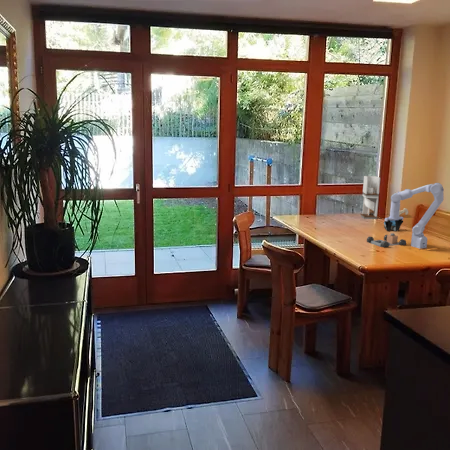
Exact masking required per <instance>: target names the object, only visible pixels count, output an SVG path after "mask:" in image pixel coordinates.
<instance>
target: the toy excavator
mask: <svg viewBox="0 0 450 450" xmlns="http://www.w3.org/2000/svg"><path fill="white" fill-rule="evenodd" d="M404 213H405V214H404ZM402 214H404V215H406V216H407V215H409V210H408V208H405V207H404V208H403V209H402V210H399V217H401V216H400V215H402ZM391 222H393V223H392V225H391V230H393V231H394V232H397V231H396V223H395V221H391ZM383 228H384V230H386V231H387V228H386V224H385V222H384V221H383ZM391 230H390V231H391Z"/></svg>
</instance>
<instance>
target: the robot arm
mask: <svg viewBox="0 0 450 450" xmlns="http://www.w3.org/2000/svg"><path fill="white" fill-rule="evenodd" d="M423 192H424V193H425V192H427V193H431V194H432V196H433V198H434V200H433V201H432V203H431V204H430V206H429V207H428V209H427V210H426V211H425V212H424V214H423V216H422V217H421V219H420V220H419V221H418V223H416V224H415V225H414V226H413V227H412V228H411V230H412V231H411V239H410V247H413V248H417V249H418V251H420V250H423V249H428V247H427V246H428V237H427V236H426V235H425V234H424V231H425V230H426V229H425V228H426V225H427V224H428V223H429V221H430V220H431V218H432V216H434V214H435V213H436V211H437V210H438V209H439V207H440V205H442V203H443V201H444V192H445V191H444V187H443V184H441V183H440V182H435V183H430V184H426V185H423V186H419V187H417V188H414V189H410V188H405V189H404V190H402V191H397V192H395V193H393V194H392V195H391V196H390V200H391V201H390V210H389V216H388V217H385V218H384V221H383V223H384V222H385V224H386V228H387V230H386V231H387V232H388V233H390V232H391V225H392V223H393V222H391V221H395V223H396V231H395V232H399V231H400V229H401V226H402V225H403V223H404V217H403V216H399V211H401V210H400V209H401V208H400V207H401V201H404V200H407V199H411V198H413V196H414V195H416V194H417V195H418V194H420V193H423ZM385 224H384V225H385Z"/></svg>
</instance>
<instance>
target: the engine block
mask: <svg viewBox="0 0 450 450" xmlns="http://www.w3.org/2000/svg"><path fill="white" fill-rule="evenodd" d="M386 235H387V242H389V243H391V244H396V243H397V242H398V241H399V240H398V238H399V237H398V235H395V233H394V232H393V233H392V232H391V233H390V234H386Z"/></svg>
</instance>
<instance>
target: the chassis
mask: <svg viewBox="0 0 450 450" xmlns="http://www.w3.org/2000/svg"><path fill="white" fill-rule="evenodd" d="M387 235H388V234H385V235H384V236H383V240H382V239H376V240H375V239H374V237H373V236H370V235H369V236H368V237H367V238H366V242H367V243H368V244H371V245H375V246H377V247H381V248H384V249H385V248H389V247H392V246H406V245H407V241H406V239H404V238H402V239H400V240H398V241H399V242H398V241H397V243H396V244H391V243H389V242H387Z"/></svg>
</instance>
